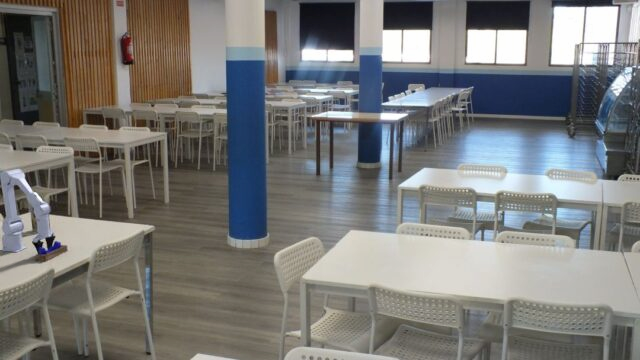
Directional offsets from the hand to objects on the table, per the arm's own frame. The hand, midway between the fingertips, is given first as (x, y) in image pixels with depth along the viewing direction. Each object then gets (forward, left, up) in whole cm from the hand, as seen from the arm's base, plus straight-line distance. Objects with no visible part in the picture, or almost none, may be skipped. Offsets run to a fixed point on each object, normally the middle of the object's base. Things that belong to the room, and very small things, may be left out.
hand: (44, 251), depth 344 cm
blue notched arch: (+2, -1, -2) cm, 3 cm away
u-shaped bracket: (+4, 0, -2) cm, 5 cm away
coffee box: (-31, +39, -2) cm, 50 cm away
